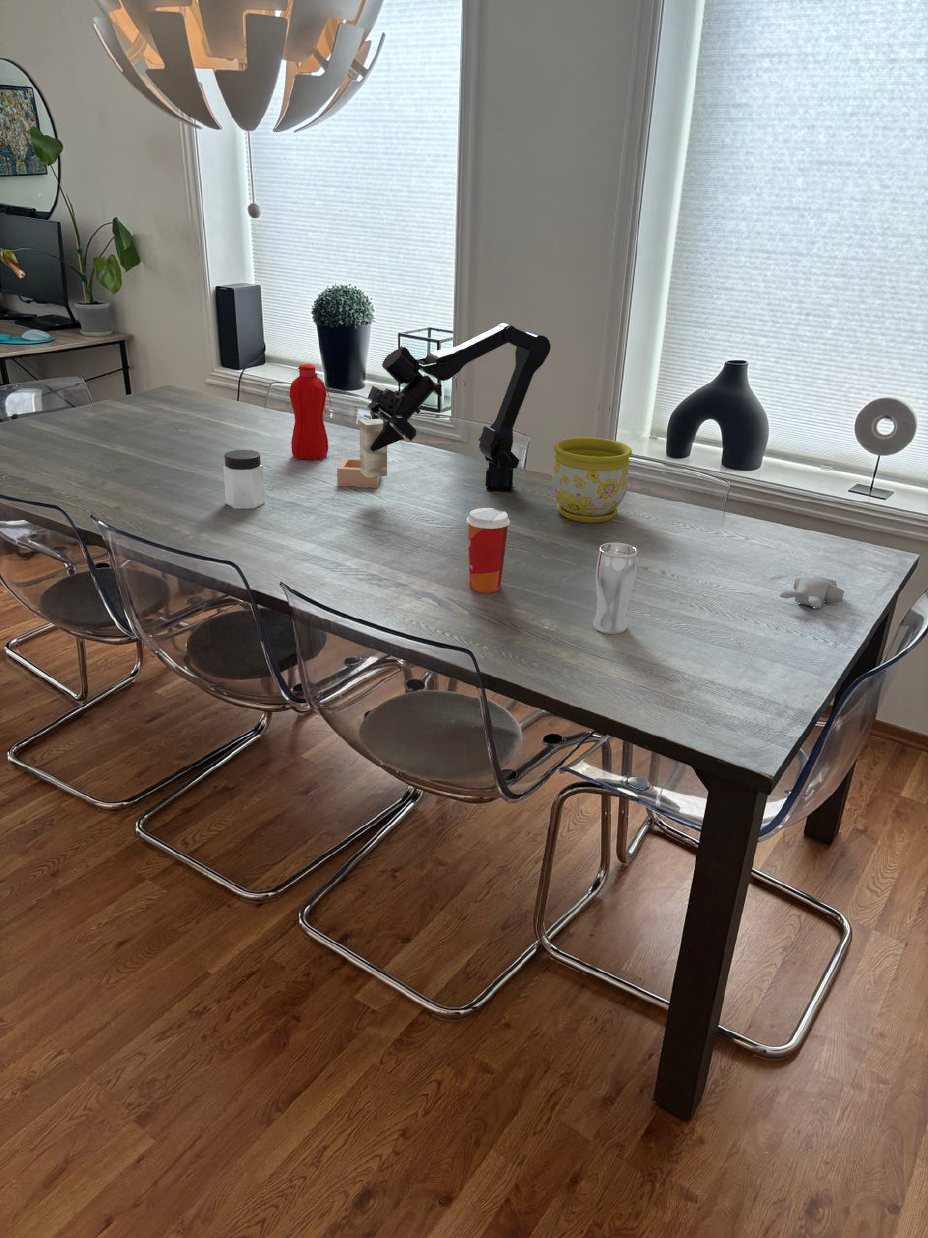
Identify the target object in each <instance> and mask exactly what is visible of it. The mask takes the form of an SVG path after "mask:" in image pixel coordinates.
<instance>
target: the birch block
mask: <svg viewBox="0 0 928 1238" xmlns="http://www.w3.org/2000/svg"><path fill="white" fill-rule="evenodd" d="M382 430H383V421H382V420H381V419H372V418H370V419H369V418H368V419H359V458H360V472H361V473H362V474H363V475H365V476H366V477H367V478H370V477H380V476H382V477H387V476H388V445H387V446H385V447H383V448H381V449H378V450H376V451H372V450H371V449H370V448H371V446H372V444H373V443H374V441H375V440H376V439H377V437H378V436H379V434H380V433H381V431H382Z"/></svg>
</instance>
